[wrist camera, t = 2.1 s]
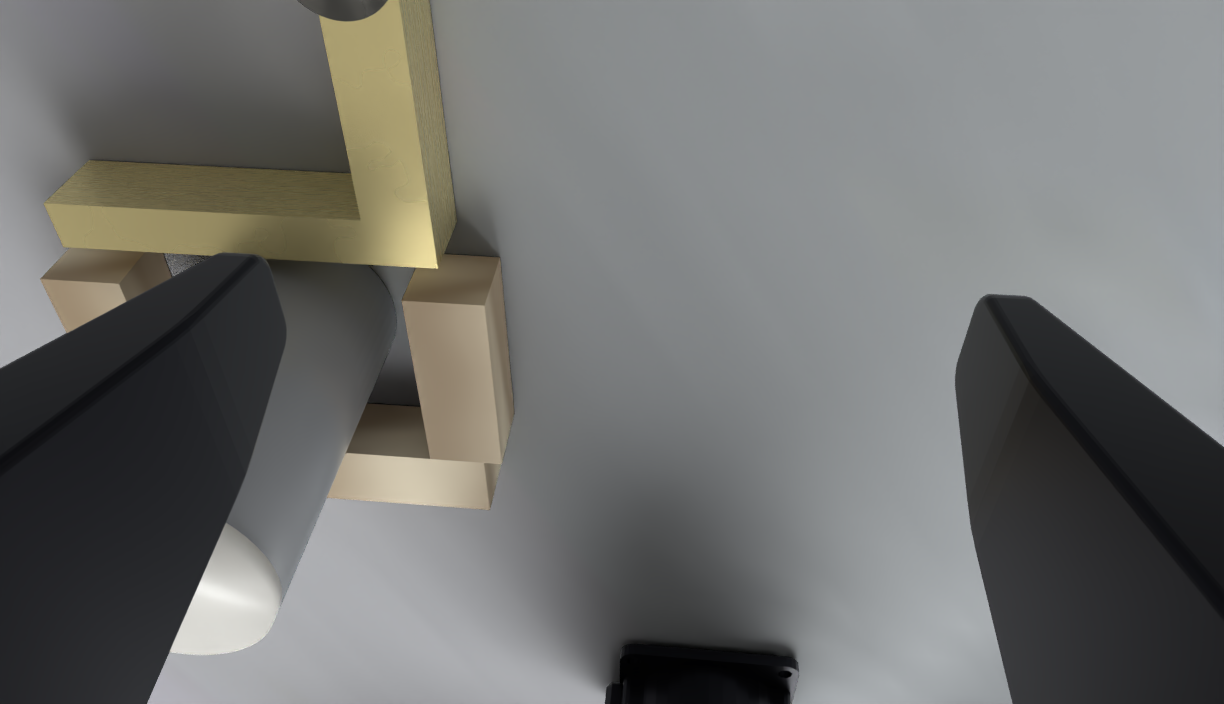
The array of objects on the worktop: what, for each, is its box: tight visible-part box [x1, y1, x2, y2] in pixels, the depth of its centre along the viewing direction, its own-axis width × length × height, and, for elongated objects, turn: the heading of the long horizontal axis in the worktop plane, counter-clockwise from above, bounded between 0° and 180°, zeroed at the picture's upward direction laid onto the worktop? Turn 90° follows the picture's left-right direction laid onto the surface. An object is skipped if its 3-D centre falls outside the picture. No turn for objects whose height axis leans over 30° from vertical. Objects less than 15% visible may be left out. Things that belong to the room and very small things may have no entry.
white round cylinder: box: [170, 259, 397, 655], centre depth 22 cm, size 5×5×9 cm
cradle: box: [40, 248, 514, 510], centre depth 25 cm, size 11×8×2 cm
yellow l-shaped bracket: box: [44, 0, 457, 269], centre depth 19 cm, size 9×9×3 cm
